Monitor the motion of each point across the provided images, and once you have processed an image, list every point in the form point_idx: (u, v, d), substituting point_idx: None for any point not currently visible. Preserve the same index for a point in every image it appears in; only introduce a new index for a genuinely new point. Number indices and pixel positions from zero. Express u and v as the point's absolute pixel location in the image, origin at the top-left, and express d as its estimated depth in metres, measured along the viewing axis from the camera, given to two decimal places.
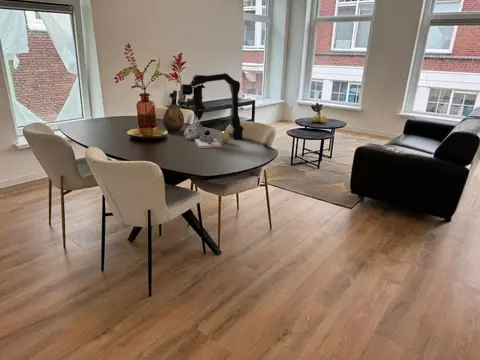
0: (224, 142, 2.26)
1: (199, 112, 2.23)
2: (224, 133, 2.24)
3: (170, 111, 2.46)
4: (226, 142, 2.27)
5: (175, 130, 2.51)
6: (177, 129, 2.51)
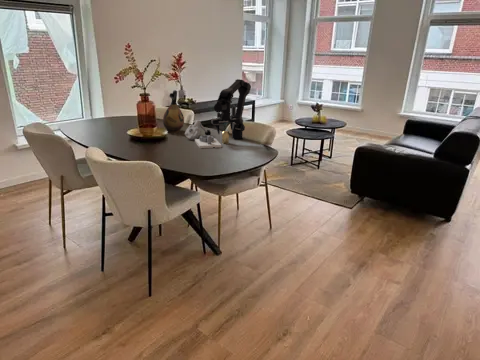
0: (224, 142, 2.26)
1: (217, 126, 2.23)
2: (224, 133, 2.24)
3: (170, 111, 2.46)
4: (226, 142, 2.27)
5: (175, 130, 2.51)
6: (177, 129, 2.51)
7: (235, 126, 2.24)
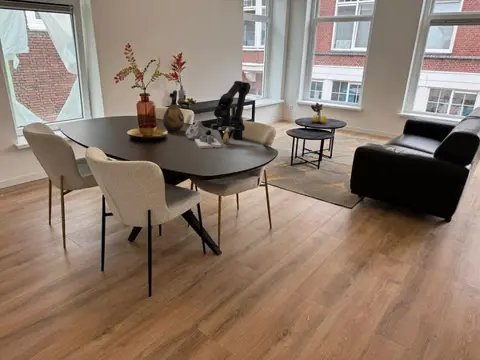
0: (224, 142, 2.26)
1: (220, 131, 2.25)
2: (224, 133, 2.24)
3: (170, 111, 2.46)
4: (226, 142, 2.27)
5: (175, 130, 2.51)
6: (177, 129, 2.51)
7: (232, 131, 2.25)
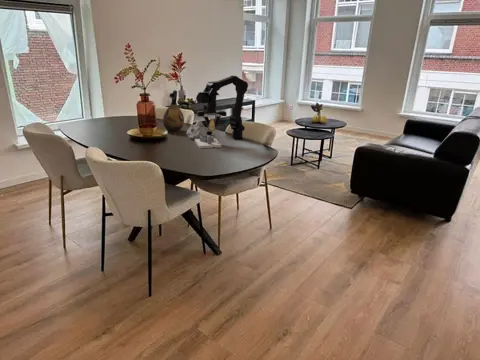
0: (210, 129, 2.23)
1: (206, 118, 2.22)
2: (210, 120, 2.21)
3: (170, 111, 2.46)
4: (212, 129, 2.23)
5: (175, 130, 2.51)
6: (177, 129, 2.51)
7: (218, 119, 2.22)
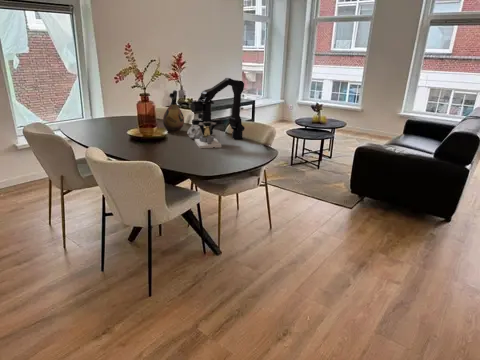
0: (205, 137, 2.25)
1: (201, 127, 2.24)
2: (205, 128, 2.23)
3: (170, 111, 2.46)
4: None
5: (175, 130, 2.51)
6: (177, 129, 2.51)
7: (213, 127, 2.24)
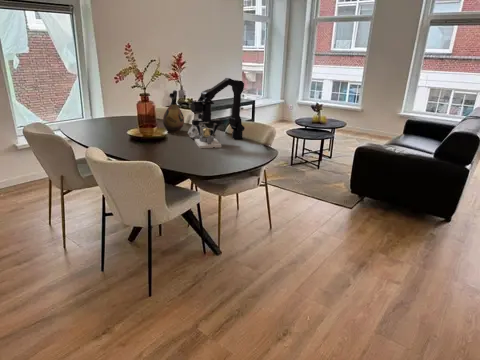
0: None
1: (197, 127, 2.23)
2: (205, 130, 2.24)
3: (170, 111, 2.46)
4: None
5: (175, 130, 2.51)
6: (177, 129, 2.51)
7: (216, 127, 2.24)
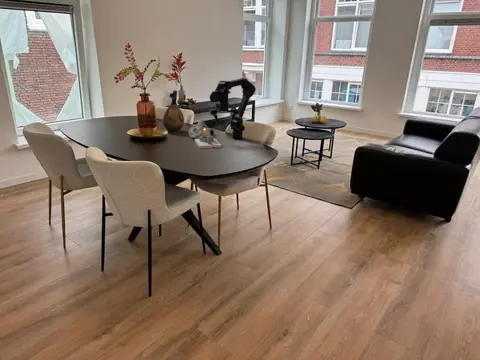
0: None
1: None
2: (205, 130, 2.23)
3: (170, 111, 2.46)
4: None
5: (175, 130, 2.51)
6: (177, 129, 2.51)
7: (233, 116, 2.27)
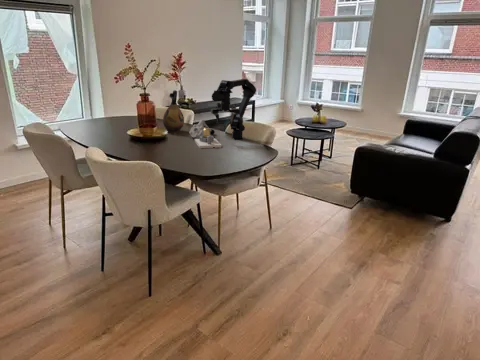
0: None
1: None
2: (205, 130, 2.23)
3: (170, 111, 2.46)
4: None
5: (175, 130, 2.51)
6: (177, 129, 2.51)
7: (234, 116, 2.27)
